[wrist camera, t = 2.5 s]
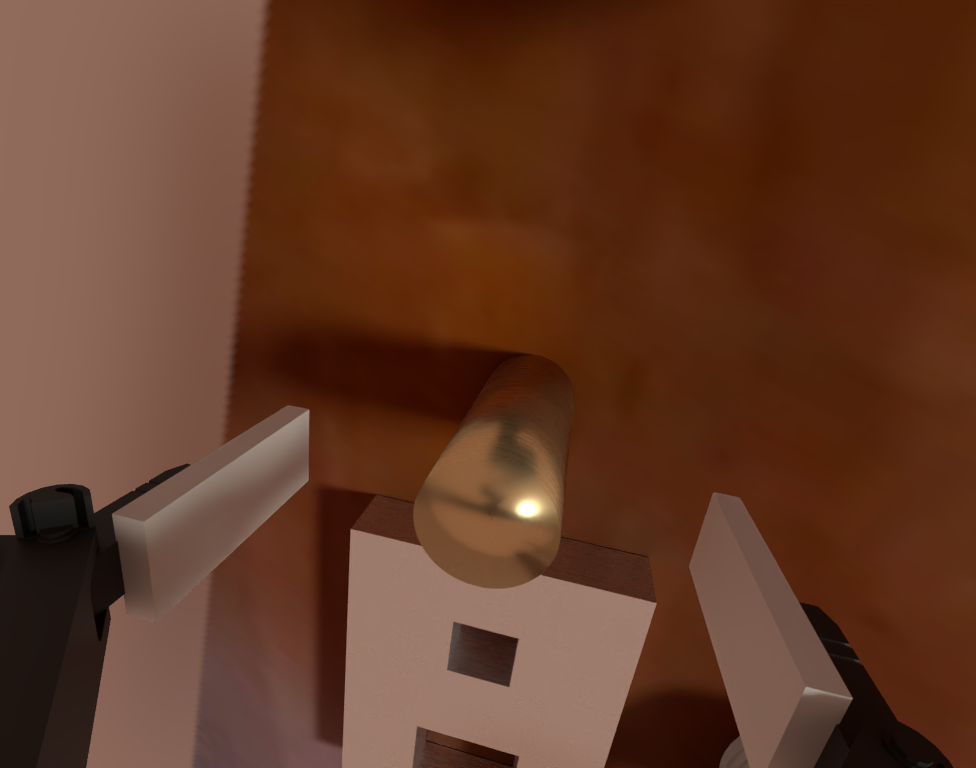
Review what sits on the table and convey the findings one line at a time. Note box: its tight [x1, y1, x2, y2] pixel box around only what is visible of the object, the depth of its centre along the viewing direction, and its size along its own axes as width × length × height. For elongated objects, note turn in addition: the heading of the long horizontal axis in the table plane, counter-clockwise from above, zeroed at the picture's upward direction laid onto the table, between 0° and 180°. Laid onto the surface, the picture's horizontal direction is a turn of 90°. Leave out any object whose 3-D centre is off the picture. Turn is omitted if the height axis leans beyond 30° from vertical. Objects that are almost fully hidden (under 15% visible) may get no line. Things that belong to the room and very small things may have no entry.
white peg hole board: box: [342, 495, 656, 768], centre depth 27 cm, size 20×14×3 cm
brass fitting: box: [413, 355, 574, 589], centre depth 18 cm, size 4×4×10 cm
